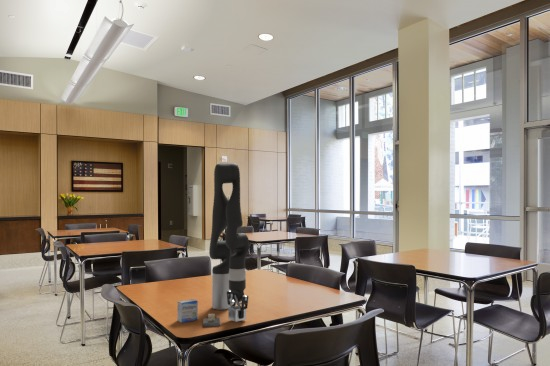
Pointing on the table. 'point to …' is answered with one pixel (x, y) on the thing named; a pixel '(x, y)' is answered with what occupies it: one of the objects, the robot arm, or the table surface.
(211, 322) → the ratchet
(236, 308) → the socket
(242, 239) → the robot arm
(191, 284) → the table surface
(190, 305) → the medicine box
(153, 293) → the table surface
